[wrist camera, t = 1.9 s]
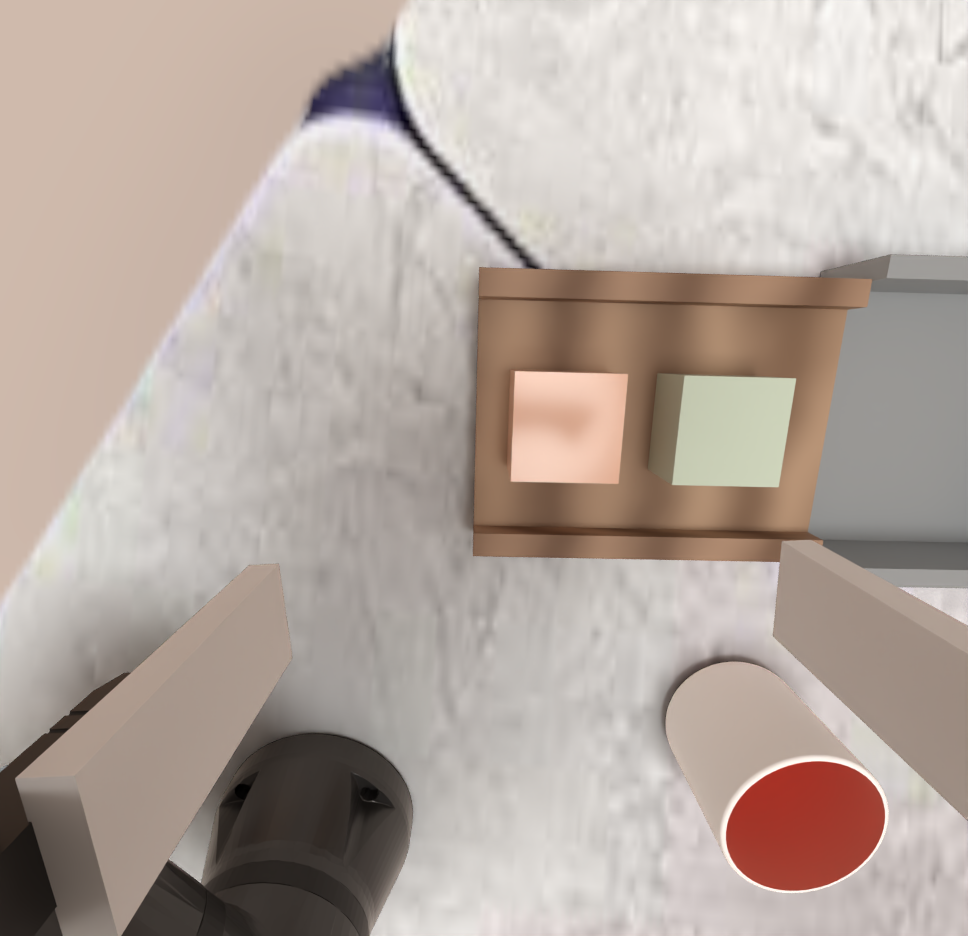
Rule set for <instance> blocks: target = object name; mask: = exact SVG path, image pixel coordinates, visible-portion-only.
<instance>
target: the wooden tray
mask: <svg viewBox="0 0 968 936" xmlns="http://www.w3.org/2000/svg"><path fill="white" fill-rule="evenodd" d="M871 284H872V279H855V278H821V277H788V276H754V275H721V274H687V273H654V272H620V271H586V270H553V269H519V268H486V267H479V305H478V350H477V395H476V440H475V485H474V530H473V556H496V557H549V558H602V559H655V560H708V561H761V562H780V556H781V545H782V541H796V540H812V541H814V542H816V543H818V544H820V545H823V540H822V539H820V538H818V537H816V536H814V535H812V534H811V533H809V532H808V528H809V523H810V517H811V511H812V506H813V500H814V495H815V489H816V484H817V478H818V472H819V467H820V461H821V456H822V450H823V445H824V439H825V433H826V428H827V422H828V417H829V411H830V406H831V400H832V394H833V389H834V383H835V378H836V372H837V367H838V361H839V356H840V350H841V344H842V339H843V333H844V328H845V322H846V317H847V311H848V310H849V309H856V308H864V307H867V306H868V300H869V295H870V290H871ZM510 369H516V370H555V371H593V372H614V373H623V374H628V383H627V394H626V405H625V417H624V428H623V439H622V451H621V462H620V473H619V484H601V483H555V482H511V481H510V477H509V473H508V470H507V440H508V413H509V385H510ZM657 373H670V374H709V375H747V376H767V377H782V378H796V383H795V390H794V396H793V402H792V408H791V414H790V420H789V427H788V433H787V439H786V445H785V451H784V457H783V463H782V470H781V476H780V482H779V487H739V486H693V485H671V484H670V483H668V482H667V481H665V480H664V479H662V478H661V477H659V476H658V475H656V474H654V473H653V472H651V471H650V470H648V462H649V452H650V442H651V433H652V423H653V413H654V403H655V393H656V383H657Z"/></svg>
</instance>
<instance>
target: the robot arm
mask: <svg viewBox="0 0 968 936" xmlns="http://www.w3.org/2000/svg"><path fill="white" fill-rule="evenodd" d="M773 637H774V638H775V639H776V640H777V641H778V642H779V643H781V644H782V645H783V646H784V647H785V648H786V649H787V650H788V651H789V652H790V653H791V654H792V655H793V656H794V657H795V658H796V659H797V660H798V661H800V662H801V663H802V664H803V665H804V666H805V667H806V668H807V669H808V670H809V671H810V672H811V673H812V674H813V675H814V676H815V677H816V678H817V679H819V680H820V681H821V682H822V683H823V684H824V685H825V686H826V687H827V688H828V689H829V690H830V691H831V692H832V693H833V694H834V695H835V696H836V697H837V698H839V699H840V700H841V701H842V702H843V703H844V704H845V705H846V706H847V707H848V708H849V709H850V710H851V711H852V712H853V713H854V714H855V715H856V716H858V717H859V718H860V719H861V720H862V721H863V722H864V723H865V724H866V725H867V726H868V727H869V728H870V729H871V730H872V731H873V732H874V733H875V734H877V735H878V736H879V737H880V738H881V739H882V740H883V741H884V742H885V743H886V744H887V745H888V746H889V747H890V748H891V749H892V750H893V751H894V752H896V753H897V754H898V755H899V756H900V757H901V758H902V759H903V760H904V761H905V762H906V763H907V764H908V765H909V766H910V767H911V768H912V769H913V770H915V771H916V772H917V773H918V774H919V775H920V776H921V777H922V778H923V779H924V780H925V781H926V782H927V783H928V784H929V785H930V786H931V787H932V788H934V789H935V790H936V791H937V792H938V793H939V794H940V795H941V796H942V797H943V798H944V799H945V800H946V801H947V802H948V803H949V804H950V805H951V806H953V807H954V808H955V809H956V810H957V811H958V812H959V813H960V814H961V815H962V816H963V817H964V818H965V819H966V820H967V821H968V626H967V625H965V624H964V623H962V622H960V621H958V620H956V619H954V618H953V617H951V616H949V615H947V614H945V613H944V612H942V611H940V610H938V609H936V608H934V607H933V606H931V605H929V604H927V603H925V602H924V601H922V600H920V599H918V598H916V597H914V596H913V595H911V594H909V593H907V592H905V591H903V590H902V589H900V588H898V587H896V586H894V585H893V584H891V583H889V582H887V581H885V580H883V579H882V578H880V577H878V576H876V575H874V574H873V573H871V572H869V571H867V570H865V569H863V568H862V567H860V566H858V565H856V564H854V563H853V562H851V561H849V560H847V559H845V558H843V557H842V556H840V555H838V554H836V553H834V552H832V551H831V550H829V549H827V548H825V547H823V546H822V545H820V544H818V543H816V542H814V541H812V540H796V541H782V545H781V556H780V566H779V576H778V587H777V597H776V607H775V618H774V628H773ZM291 659H292V651H291V644H290V637H289V630H288V623H287V617H286V610H285V603H284V596H283V589H282V582H281V575H280V568H279V564H261V565H249V566H248V567H247V568H246V569H244V570H243V571H242V572H241V573H240V574H239V575H238V576H237V577H236V578H235V579H234V580H232V581H231V582H230V583H229V584H228V585H227V586H226V587H225V588H224V589H223V590H221V591H220V592H219V593H218V594H217V595H216V596H215V597H214V598H213V599H212V600H210V601H209V602H208V603H207V604H206V605H205V606H204V607H203V608H202V609H201V610H199V611H198V612H197V613H196V614H195V615H194V616H193V617H192V618H191V619H190V620H188V621H187V622H186V623H185V624H184V625H183V626H182V627H181V628H180V629H179V630H178V631H176V632H175V633H174V634H173V635H172V636H171V637H170V638H169V639H168V640H167V641H165V642H164V643H163V644H162V645H161V646H160V647H159V648H158V649H157V650H156V651H154V652H153V653H152V654H151V655H150V656H149V657H148V658H147V659H146V660H145V661H143V662H142V663H141V664H140V665H139V666H138V667H137V668H136V669H135V670H134V671H132V672H131V673H123V674H122V675H120V676H118V677H117V678H115V679H113V680H111V681H110V682H108V683H106V684H105V685H103V686H101V687H100V688H98V689H96V690H94V691H93V692H92V693H91V694H90V695H88V696H87V697H86V698H85V699H84V700H83V701H82V702H80V703H79V704H78V705H77V706H76V707H75V708H73V709H72V710H71V711H70V714H69V716H64V717H63V718H62V719H61V720H60V721H59V722H57V723H56V724H55V725H54V726H53V727H52V728H50V731H49V733H48V734H44V735H42V736H41V737H40V738H39V739H38V740H37V741H36V742H34V743H33V744H32V745H31V746H30V747H29V748H27V749H26V750H25V751H24V752H23V753H22V754H21V755H19V756H18V757H17V758H16V759H15V760H14V761H13V762H11V763H10V764H9V765H6V766H3V767H1V768H0V936H370V933H371V931H372V929H373V927H374V925H375V923H376V921H377V919H378V917H379V914H380V912H381V910H382V908H383V906H384V904H385V902H386V900H387V898H388V896H389V894H390V892H391V890H392V888H393V886H394V884H395V882H396V879H397V877H398V875H399V873H400V871H401V869H402V867H403V864H404V862H405V859H406V856H407V853H408V848H409V843H410V835H411V828H412V821H413V808H412V802H411V797H410V794H409V791H408V789H407V787H406V785H405V783H404V781H403V779H402V778H401V776H400V775H399V773H398V772H397V771H396V770H395V768H394V767H393V766H392V765H391V764H390V763H389V762H388V761H387V760H385V759H384V758H383V757H382V756H380V755H379V754H378V753H376V752H375V751H373V750H371V749H370V748H368V747H366V746H364V745H362V744H360V743H357V742H355V741H352V740H349V739H346V738H342V737H338V736H332V735H324V734H305V735H297V736H292V737H287V738H284V739H280V740H278V741H275V742H273V743H270V744H268V745H266V746H264V747H263V748H261V749H259V750H258V751H256V752H255V753H254V754H252V755H251V756H250V757H249V758H248V759H247V760H246V761H245V762H244V763H243V764H242V765H241V767H240V768H239V769H238V771H237V772H236V774H235V776H234V777H233V779H232V781H231V782H230V784H229V786H228V788H227V789H226V791H225V793H224V795H223V797H222V798H221V801H220V803H219V806H218V808H217V811H216V814H215V819H214V823H213V828H212V833H211V838H210V843H209V847H208V852H207V857H206V862H205V867H204V871H203V876H202V881H201V883H199V882H198V881H197V880H195V879H194V878H193V877H192V876H190V875H189V874H188V873H186V872H185V871H184V870H182V869H181V868H180V867H178V866H177V865H176V864H174V863H173V862H172V861H170V860H169V857H170V856H171V854H172V853H173V851H174V849H175V848H176V846H177V844H178V843H179V841H180V840H181V838H182V836H183V835H184V833H185V831H186V830H187V828H188V827H189V825H190V823H191V822H192V820H193V818H194V817H195V815H196V814H197V812H198V810H199V809H200V807H201V806H202V804H203V802H204V801H205V799H206V797H207V796H208V794H209V793H210V791H211V789H212V788H213V786H214V784H215V783H216V781H217V780H218V778H219V776H220V775H221V773H222V771H223V770H224V768H225V767H226V765H227V763H228V762H229V760H230V758H231V757H232V755H233V754H234V752H235V750H236V749H237V747H238V745H239V744H240V742H241V741H242V739H243V737H244V736H245V734H246V732H247V731H248V729H249V728H250V726H251V724H252V723H253V721H254V720H255V718H256V716H257V715H258V713H259V711H260V710H261V708H262V707H263V705H264V703H265V702H266V700H267V698H268V697H269V695H270V694H271V692H272V690H273V689H274V687H275V685H276V684H277V682H278V681H279V679H280V677H281V676H282V674H283V672H284V671H285V669H286V668H287V666H288V664H289V663H290V661H291Z"/></svg>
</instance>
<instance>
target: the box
mask: <svg viewBox="0 0 968 936" xmlns="http://www.w3.org/2000/svg"><path fill="white" fill-rule="evenodd" d="M820 277H821V278H855V279H872V284H871V290H870V295H869V300H868V306H867V307H864V308H856V309H849V310H848V311H847V317H846V322H845V328H844V333H843V339H842V344H841V350H840V356H839V361H838V367H837V372H836V378H835V383H834V389H833V394H832V400H831V406H830V411H829V417H828V422H827V428H826V433H825V439H824V445H823V450H822V456H821V461H820V467H819V472H818V478H817V484H816V489H815V495H814V500H813V506H812V511H811V517H810V523H809V528H808V532H809V533H811V534H812V535H814V536H816V537H818V538H820V539H822V540H823V545H822V546H823V547H825V548H827V549H829V550H831V551H832V552H834V553H836V554H838V555H840V556H842V557H843V558H845V559H847V560H849V561H851V562H853V563H854V564H856V565H858V566H860V567H862V568H863V569H865V570H867V571H869V572H871V573H873V574H874V575H876V576H878V577H880V578H882V579H883V580H885V581H887V582H889V583H891V584H893V585H894V586H896V587H926V588H968V257H962V256H930V255H897V254H891V255H887V256H882V257H878V258H874V259H870V260H866V261H862V262H858V263H854V264H850V265H846V266H842V267H838V268H834V269H830V270H826V271H822V272H821V275H820Z"/></svg>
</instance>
